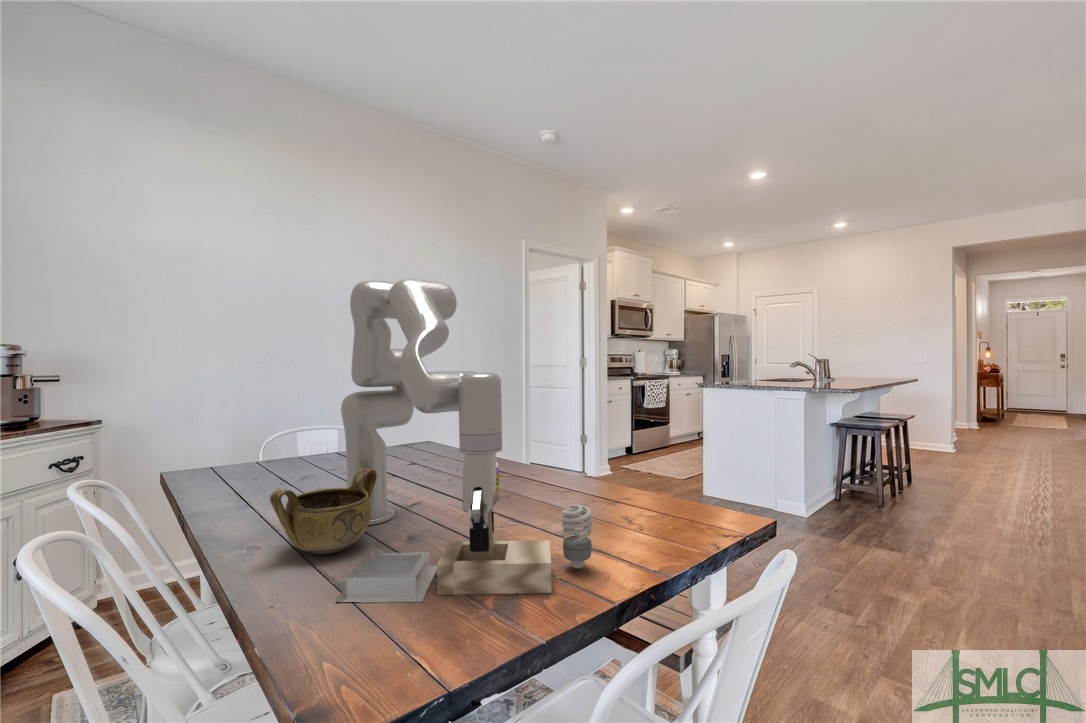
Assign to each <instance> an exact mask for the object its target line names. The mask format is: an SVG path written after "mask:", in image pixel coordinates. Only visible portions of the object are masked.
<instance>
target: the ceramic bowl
mask: <svg viewBox="0 0 1086 723" xmlns="http://www.w3.org/2000/svg"><path fill="white" fill-rule="evenodd" d="M376 478H377V473H376V471H375V470H374V469H369V468H361V469H359V470H358V471H357V473H356V474H355V476H354V478H353V481H352V485H351V487H349V488H347V487H334V488H333V487H332V488H331V487H330V488H321V489H315V490H311V491H310V490H309V491H306V492H302V493H298V494H296V493H295V492H294V491H292V490H290V489H287V488H281V487H280V488H276V489H274V490H273V491H272V492H271V495H270V496H269V501H270V504H271V507H272V508H273V510H274V512H275V514H276V516H277V518H278V520H279V522H280V524H281V526H282V527H283V529H284V532H285V534H286V536H287V537H288V538H289V541H290V542H291V543H292V544H293V545H294V546H295V547H297V548H298V549H300V550H302V551H303V552H306V553H309V554H314V555H320V556H321V555H330V554H334V553H338V552H341V551H344V549H347V548H348V547H350V546H352V545H354V544H355V543H356V542H357V541H358V540H359V539H360V538H362V536H363V535H364V533H365V532H366V531H367V529H368V526H369V525H368V524H369V520H370V514H371V506H370V496H371V493H372V490H373V487H374V485H375V482H376ZM284 495H285V497H287V500H286V504H285V506H284V504H283V502H282V497H283V496H284Z"/></svg>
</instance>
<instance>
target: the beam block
mask: <svg viewBox="0 0 1086 723" xmlns="http://www.w3.org/2000/svg"><path fill="white" fill-rule="evenodd" d="M493 543H494V560H491V561H472V552H471V551H470V541H448V543H447V544H446V546H445V548H444V551H443V553H442V554H441V556H440V559H439V560H438V562H437V564H436V566H437V573H436V584H437V585H436V586H437V587H436V589H437V590H436V591H437V592H436V595H437V596H446V595H447V596H451V595H453V596H456V595H459V596H460V595H502V594H503V595H513V594H515V595H516V593H518V594H519V595H520V594H522V595H523V594H524V595H525V594H526V593H527V594H551V593H552V555H551V540H549V539H547V540H544V539H543V540H540V539H539V540H496V541H495V540H493ZM518 594H517V595H518ZM527 594H526V595H527Z"/></svg>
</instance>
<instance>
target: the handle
mask: <svg viewBox="0 0 1086 723" xmlns="http://www.w3.org/2000/svg"><path fill="white" fill-rule="evenodd" d="M482 497H483V491H482ZM499 497H500V492H499V493H497V492H495V496H494V500H493V506H492V507H494V506H496V504H497V503H498V502H499V500H500V498H499ZM470 509H471V507H470ZM481 509H485V507H481ZM491 512H492V511H491V510H490V511H488V516H487V527H489V551H487V552H472V561H491V560H494V543H493V541H494V533H493V530H492V515H491ZM481 515H482V516H483V517H484V514H481ZM483 520H484V518H483Z"/></svg>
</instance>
